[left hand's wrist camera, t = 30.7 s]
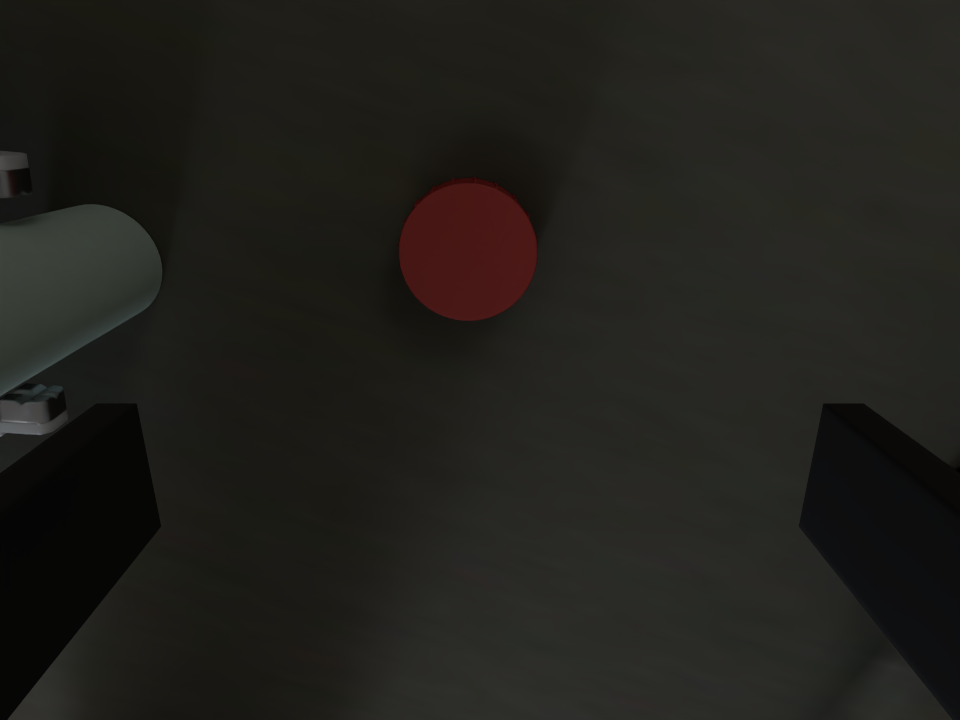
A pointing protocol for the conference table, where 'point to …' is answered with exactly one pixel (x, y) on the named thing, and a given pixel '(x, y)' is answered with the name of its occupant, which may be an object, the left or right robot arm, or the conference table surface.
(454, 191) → the lid
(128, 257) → the jar
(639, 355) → the conference table surface
